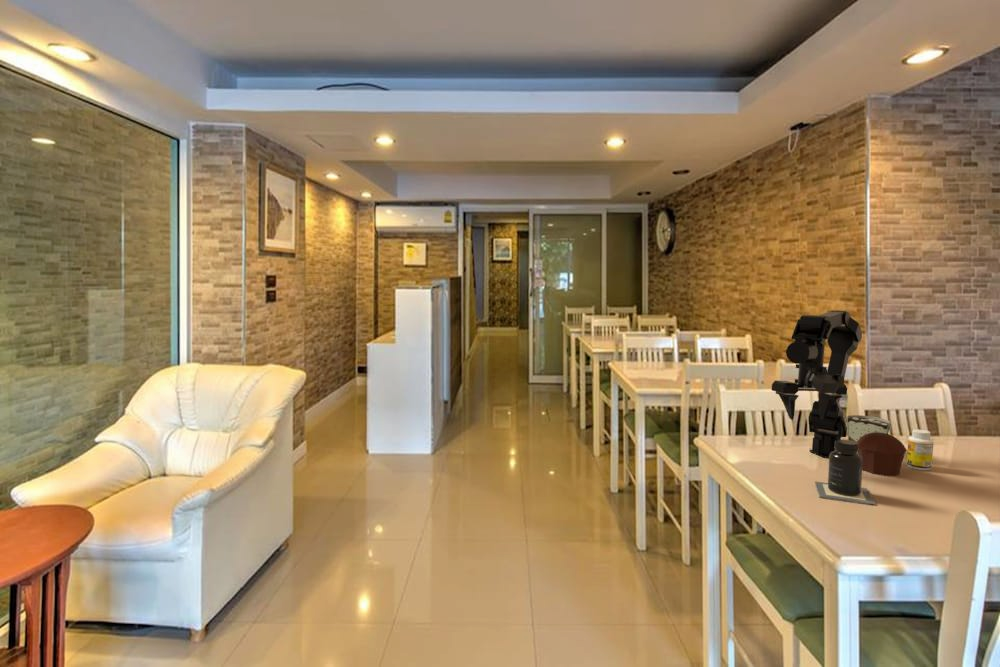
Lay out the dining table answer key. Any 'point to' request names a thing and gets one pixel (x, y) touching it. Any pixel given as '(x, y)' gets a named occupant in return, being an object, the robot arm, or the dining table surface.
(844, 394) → the robot arm
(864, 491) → the foundation tile
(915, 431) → the supplement bottle
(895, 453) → the muffin
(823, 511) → the dining table surface
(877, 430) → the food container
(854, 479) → the supplement bottle
